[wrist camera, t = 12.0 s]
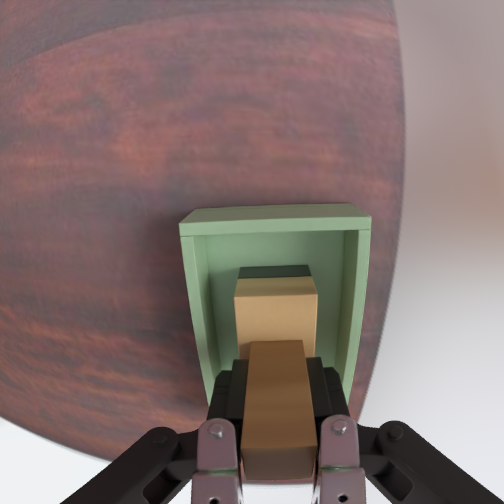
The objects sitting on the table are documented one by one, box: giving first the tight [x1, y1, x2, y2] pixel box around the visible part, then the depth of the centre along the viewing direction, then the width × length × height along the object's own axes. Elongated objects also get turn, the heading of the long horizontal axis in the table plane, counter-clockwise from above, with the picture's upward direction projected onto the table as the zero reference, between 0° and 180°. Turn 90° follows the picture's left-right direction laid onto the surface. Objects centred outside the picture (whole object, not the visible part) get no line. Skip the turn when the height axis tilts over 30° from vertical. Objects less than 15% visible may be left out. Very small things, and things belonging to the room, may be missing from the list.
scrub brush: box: [233, 265, 318, 480], centre depth 13 cm, size 7×4×10 cm, turn 3°
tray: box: [179, 203, 371, 406], centre depth 17 cm, size 15×8×3 cm, turn 3°
